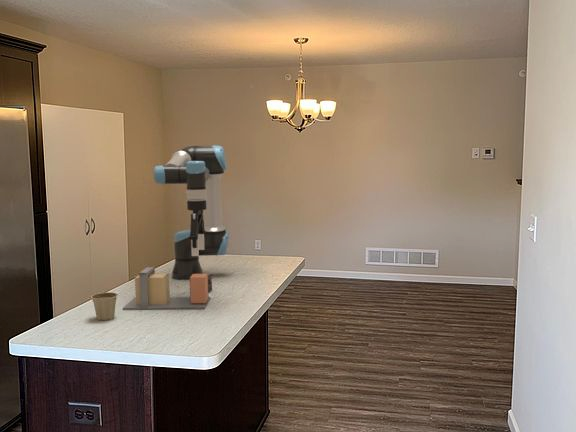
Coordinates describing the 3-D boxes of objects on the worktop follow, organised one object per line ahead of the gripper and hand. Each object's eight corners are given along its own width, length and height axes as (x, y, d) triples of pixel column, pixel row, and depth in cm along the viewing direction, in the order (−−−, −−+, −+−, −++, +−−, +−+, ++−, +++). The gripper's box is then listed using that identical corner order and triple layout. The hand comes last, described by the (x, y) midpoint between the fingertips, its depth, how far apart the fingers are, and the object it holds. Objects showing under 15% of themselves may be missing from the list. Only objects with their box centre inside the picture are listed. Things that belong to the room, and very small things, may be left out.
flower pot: (103, 323, 199) (102, 299, 198) (86, 319, 204) (85, 296, 203) (124, 316, 207) (123, 294, 206) (107, 313, 212) (106, 291, 211)
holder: (134, 299, 232) (132, 265, 231) (210, 298, 232) (209, 265, 231) (122, 309, 216) (121, 274, 215) (204, 309, 216) (203, 273, 215)
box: (207, 293, 241) (207, 277, 241) (194, 293, 243) (194, 276, 242) (212, 290, 247) (211, 274, 247) (199, 289, 249) (199, 273, 248)
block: (193, 298, 228) (192, 273, 226) (208, 298, 227) (207, 273, 226) (190, 303, 221) (189, 277, 219) (205, 303, 220) (204, 277, 219)
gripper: (192, 197, 232) (194, 247, 235) (180, 203, 207) (182, 258, 210) (210, 197, 232) (212, 247, 234) (200, 202, 207) (202, 258, 210)
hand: (198, 252), depth 222 cm, fingers open, 13 cm apart
